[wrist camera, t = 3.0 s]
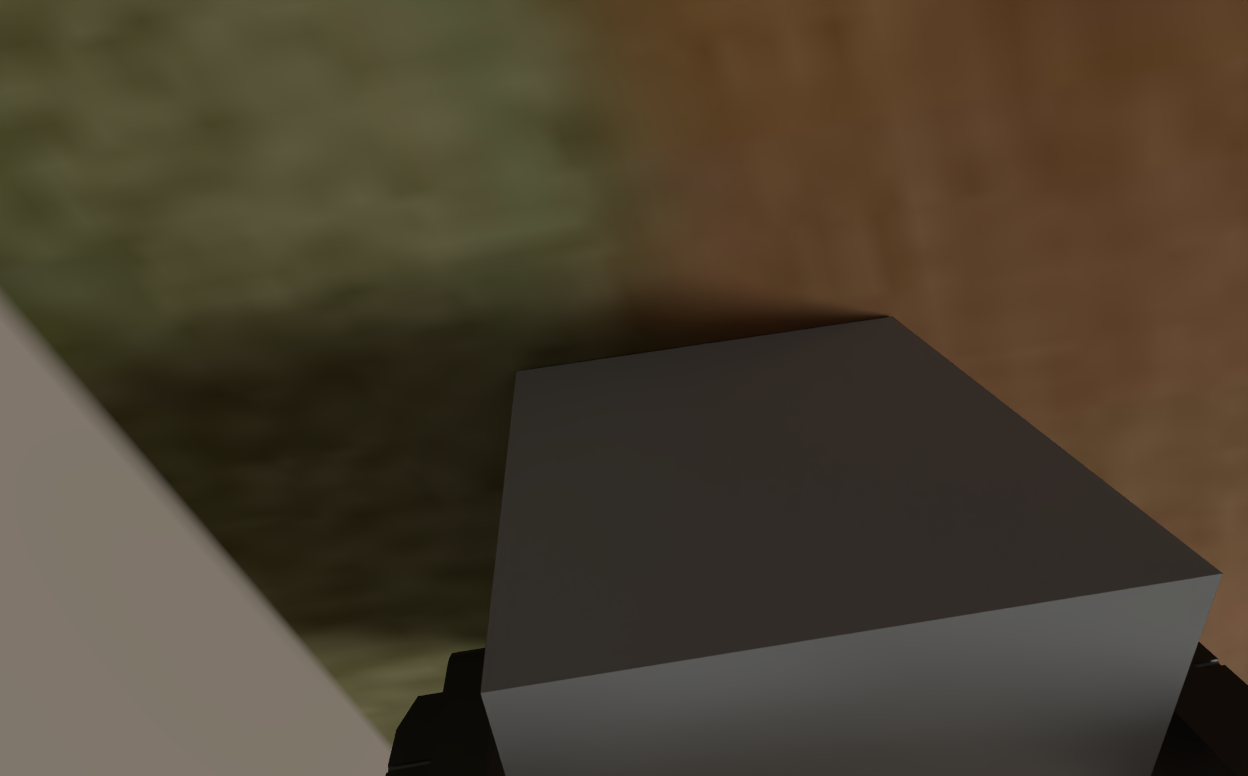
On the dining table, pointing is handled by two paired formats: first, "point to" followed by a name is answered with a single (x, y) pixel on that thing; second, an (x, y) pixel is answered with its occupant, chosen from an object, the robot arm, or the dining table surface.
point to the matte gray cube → (821, 574)
